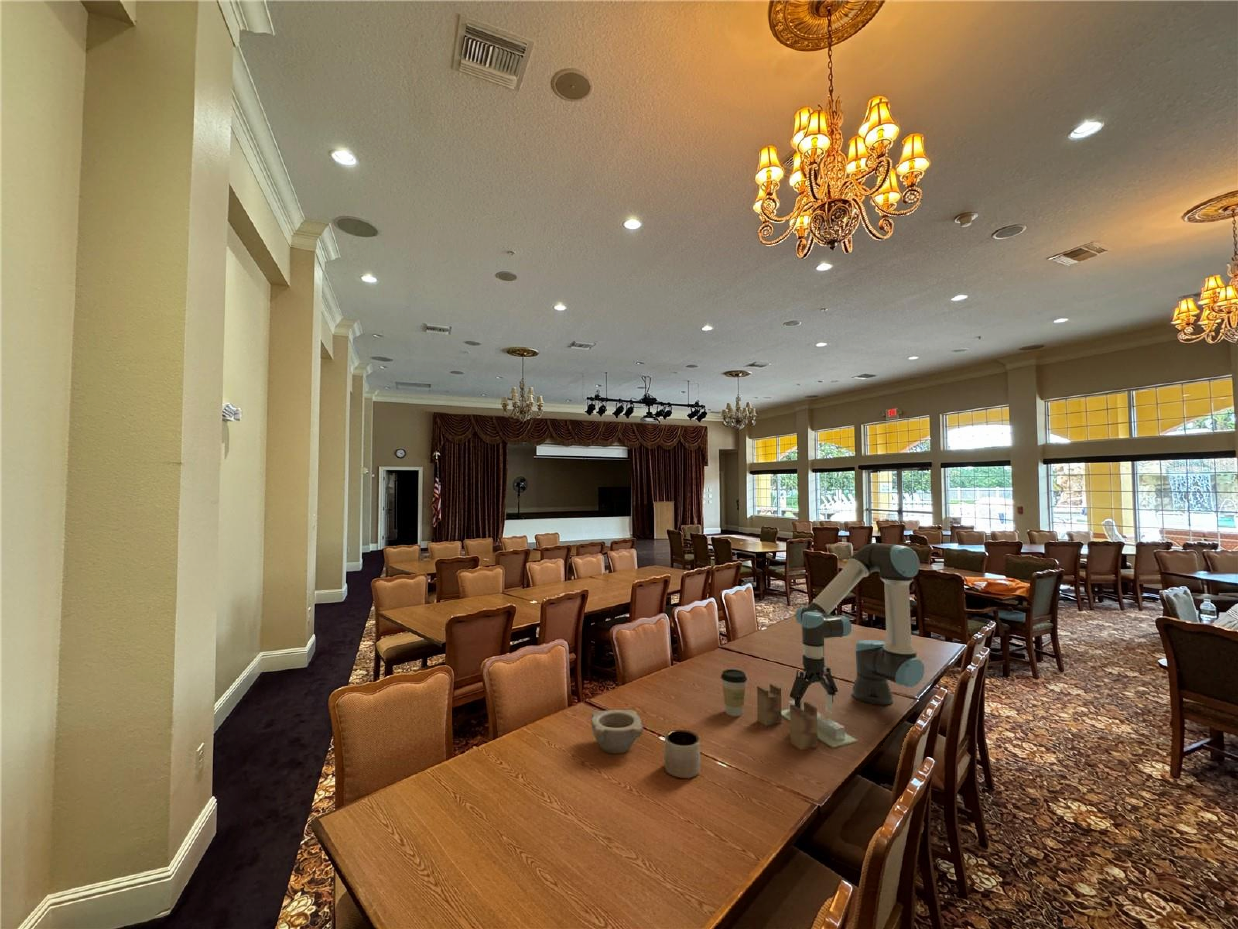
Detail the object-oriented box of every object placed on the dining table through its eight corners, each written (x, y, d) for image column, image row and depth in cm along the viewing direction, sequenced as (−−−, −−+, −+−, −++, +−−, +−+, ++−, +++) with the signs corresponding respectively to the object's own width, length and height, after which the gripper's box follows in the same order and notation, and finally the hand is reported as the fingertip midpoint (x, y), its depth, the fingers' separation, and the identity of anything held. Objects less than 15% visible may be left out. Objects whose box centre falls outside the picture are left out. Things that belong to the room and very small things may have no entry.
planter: (677, 783, 142) (677, 749, 143) (657, 765, 152) (657, 733, 152) (707, 774, 147) (707, 741, 148) (686, 757, 157) (686, 726, 157)
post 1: (772, 717, 185) (772, 683, 186) (781, 723, 181) (781, 688, 181) (757, 720, 183) (757, 686, 184) (766, 726, 178) (765, 691, 179)
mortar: (637, 734, 172) (638, 707, 172) (644, 759, 155) (644, 729, 156) (590, 735, 170) (590, 708, 171) (591, 761, 153) (591, 731, 154)
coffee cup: (748, 719, 183) (747, 678, 184) (721, 717, 185) (721, 676, 186) (746, 708, 193) (746, 669, 194) (721, 706, 195) (720, 667, 196)
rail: (787, 712, 188) (787, 701, 189) (796, 710, 190) (796, 700, 190) (836, 741, 166) (835, 729, 166) (845, 739, 168) (844, 727, 168)
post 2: (806, 739, 168) (806, 702, 169) (817, 746, 164) (816, 708, 165) (790, 743, 166) (790, 705, 167) (801, 750, 161) (800, 711, 162)
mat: (799, 708, 193) (799, 707, 193) (857, 742, 167) (857, 740, 167) (777, 713, 189) (776, 711, 189) (832, 747, 163) (832, 745, 163)
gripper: (831, 649, 188) (832, 706, 186) (779, 656, 179) (779, 716, 177) (847, 655, 181) (848, 714, 179) (793, 663, 172) (794, 725, 170)
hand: (814, 715), depth 178 cm, fingers open, 13 cm apart
